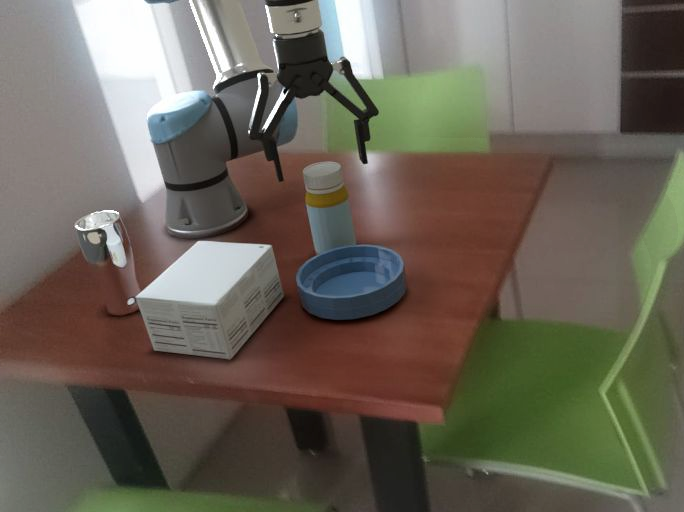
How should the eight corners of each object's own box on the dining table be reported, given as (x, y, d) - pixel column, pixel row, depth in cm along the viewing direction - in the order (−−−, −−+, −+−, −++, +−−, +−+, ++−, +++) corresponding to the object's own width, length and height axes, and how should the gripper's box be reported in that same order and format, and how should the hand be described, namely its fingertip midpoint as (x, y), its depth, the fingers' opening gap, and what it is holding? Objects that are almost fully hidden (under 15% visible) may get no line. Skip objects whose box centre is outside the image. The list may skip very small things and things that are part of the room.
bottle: (350, 261, 130) (336, 176, 122) (310, 261, 131) (293, 177, 123) (361, 242, 135) (348, 159, 127) (323, 242, 137) (307, 160, 129)
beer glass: (124, 321, 121) (92, 233, 113) (95, 311, 124) (62, 226, 116) (158, 299, 126) (130, 213, 118) (129, 290, 129) (100, 207, 121)
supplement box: (212, 291, 126) (197, 239, 121) (285, 297, 122) (273, 243, 117) (151, 351, 113) (132, 295, 108) (231, 360, 109) (215, 303, 104)
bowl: (284, 293, 123) (279, 268, 121) (374, 259, 130) (371, 235, 127) (330, 337, 111) (324, 310, 109) (426, 297, 117) (423, 271, 115)
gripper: (213, 52, 109) (247, 194, 120) (386, 22, 113) (403, 161, 125) (209, 42, 115) (242, 178, 126) (373, 13, 120) (391, 147, 131)
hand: (322, 170), depth 125 cm, fingers open, 13 cm apart
